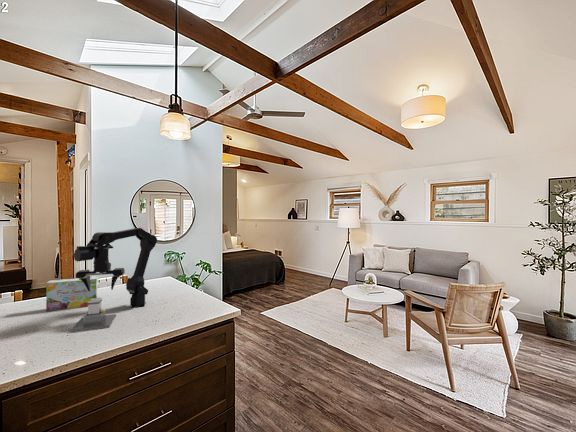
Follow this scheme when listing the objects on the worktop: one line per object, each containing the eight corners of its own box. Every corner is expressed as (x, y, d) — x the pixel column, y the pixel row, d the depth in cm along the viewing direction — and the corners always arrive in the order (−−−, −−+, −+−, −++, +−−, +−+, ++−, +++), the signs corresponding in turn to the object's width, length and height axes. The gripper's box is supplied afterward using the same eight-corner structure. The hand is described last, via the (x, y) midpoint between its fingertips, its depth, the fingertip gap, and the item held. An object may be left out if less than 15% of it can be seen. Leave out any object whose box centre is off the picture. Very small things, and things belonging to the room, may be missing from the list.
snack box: (45, 312, 134) (45, 282, 134) (49, 308, 139) (49, 280, 139) (96, 305, 144) (96, 278, 143) (98, 302, 149) (98, 276, 148)
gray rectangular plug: (102, 318, 123) (102, 297, 123) (99, 322, 119) (99, 300, 119) (90, 320, 121) (90, 298, 121) (87, 323, 117) (87, 301, 117)
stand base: (116, 316, 129) (116, 304, 129) (109, 327, 116) (109, 314, 116) (81, 320, 124) (81, 307, 124) (70, 332, 111) (70, 319, 111)
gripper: (126, 255, 138) (126, 284, 138) (83, 256, 131) (83, 287, 131) (122, 258, 128) (121, 290, 128) (75, 260, 121) (74, 294, 121)
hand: (100, 290), depth 127 cm, fingers open, 9 cm apart
